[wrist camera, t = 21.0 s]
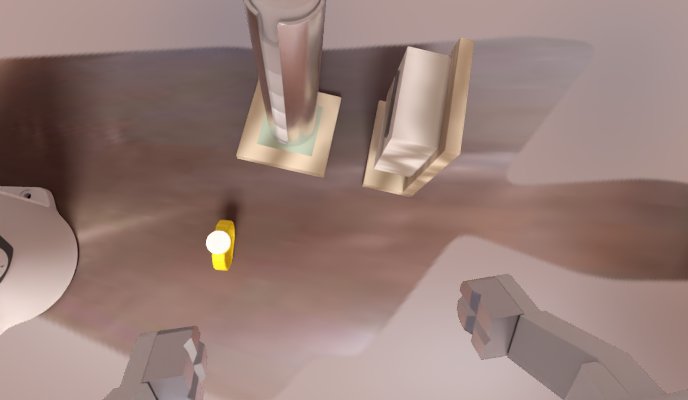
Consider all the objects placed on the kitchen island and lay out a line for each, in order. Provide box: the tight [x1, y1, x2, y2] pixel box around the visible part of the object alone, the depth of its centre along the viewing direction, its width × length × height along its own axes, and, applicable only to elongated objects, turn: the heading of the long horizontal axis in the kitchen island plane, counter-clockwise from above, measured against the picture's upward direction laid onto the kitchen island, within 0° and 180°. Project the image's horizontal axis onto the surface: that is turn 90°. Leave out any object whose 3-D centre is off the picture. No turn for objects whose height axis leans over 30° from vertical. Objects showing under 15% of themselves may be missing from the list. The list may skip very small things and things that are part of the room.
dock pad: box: [236, 80, 341, 178], centre depth 52 cm, size 12×12×1 cm
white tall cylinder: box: [243, 0, 326, 146], centre depth 39 cm, size 6×6×25 cm
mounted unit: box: [362, 38, 474, 197], centre depth 45 cm, size 7×13×17 cm, turn 169°
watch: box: [206, 220, 235, 270], centre depth 45 cm, size 6×3×6 cm, turn 178°
